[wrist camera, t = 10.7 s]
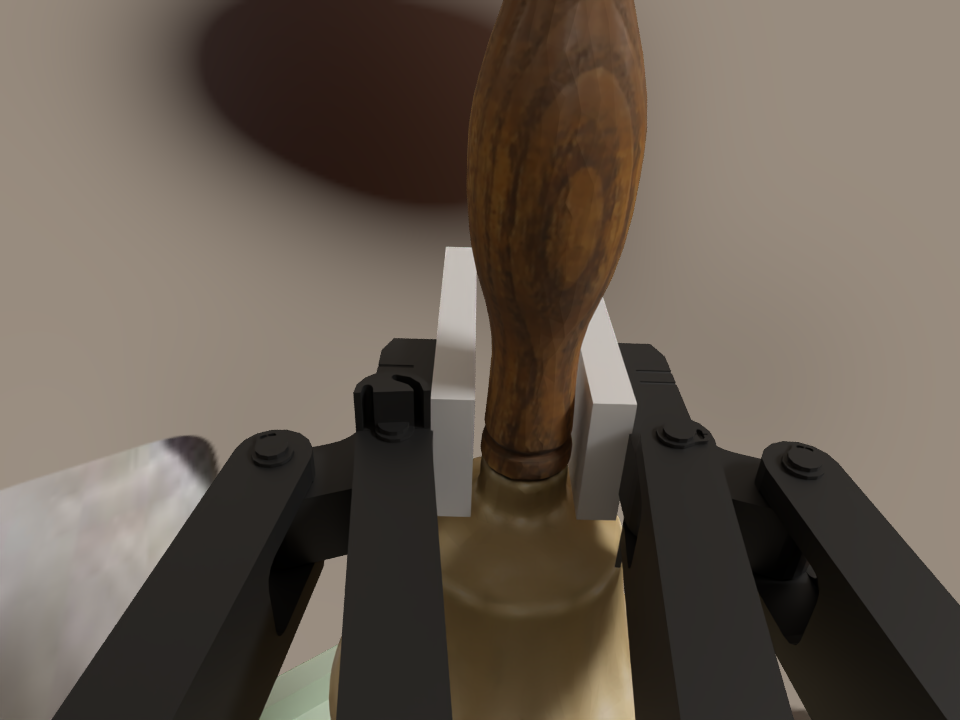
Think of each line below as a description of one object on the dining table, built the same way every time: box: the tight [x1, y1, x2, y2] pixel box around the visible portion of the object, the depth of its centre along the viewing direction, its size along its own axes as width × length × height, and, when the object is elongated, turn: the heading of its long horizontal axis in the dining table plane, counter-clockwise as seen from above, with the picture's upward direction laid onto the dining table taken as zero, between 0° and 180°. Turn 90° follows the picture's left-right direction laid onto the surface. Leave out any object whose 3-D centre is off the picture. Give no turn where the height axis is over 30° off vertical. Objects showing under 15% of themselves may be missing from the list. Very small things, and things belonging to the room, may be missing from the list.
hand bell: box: [329, 0, 647, 720], centre depth 13 cm, size 8×8×16 cm
